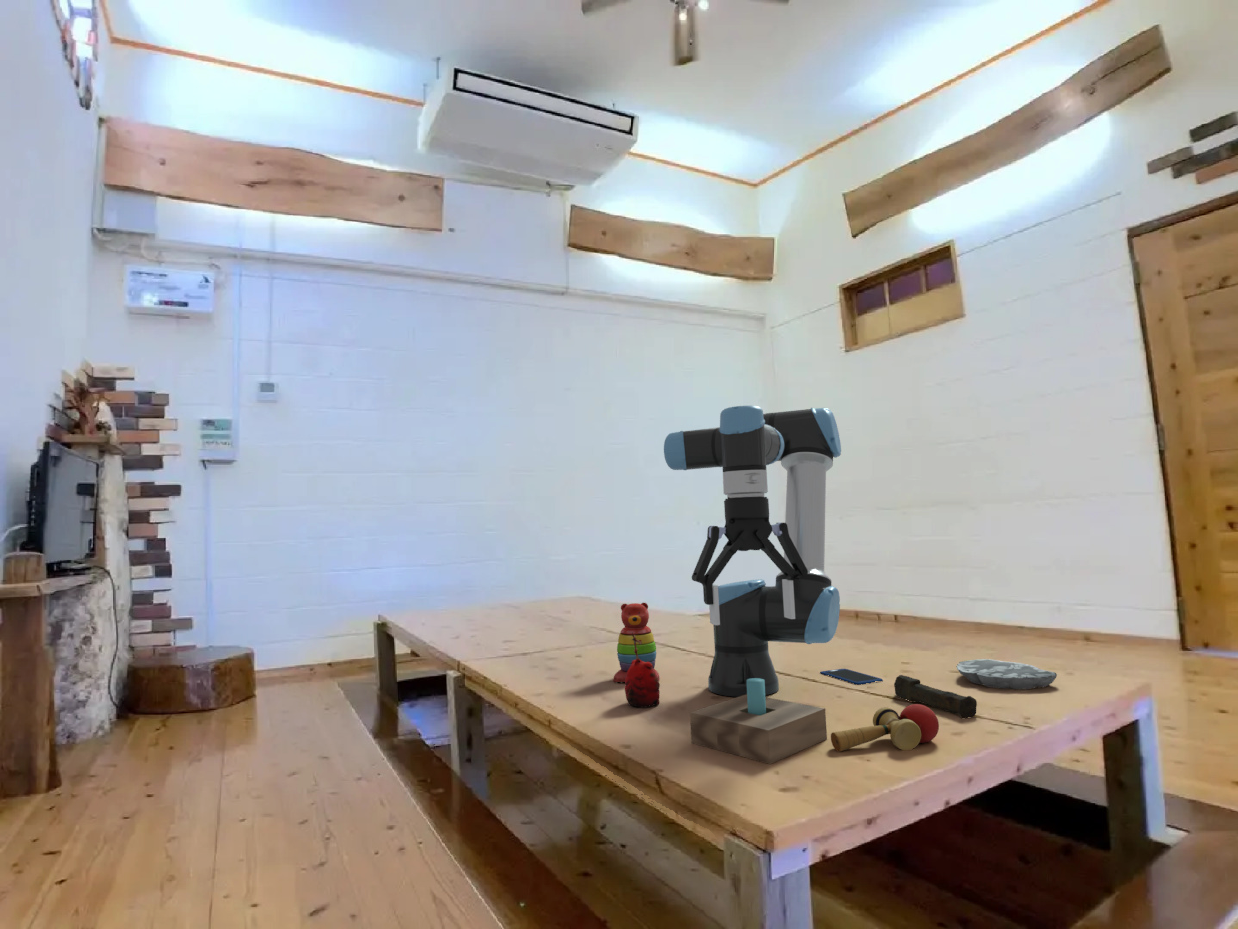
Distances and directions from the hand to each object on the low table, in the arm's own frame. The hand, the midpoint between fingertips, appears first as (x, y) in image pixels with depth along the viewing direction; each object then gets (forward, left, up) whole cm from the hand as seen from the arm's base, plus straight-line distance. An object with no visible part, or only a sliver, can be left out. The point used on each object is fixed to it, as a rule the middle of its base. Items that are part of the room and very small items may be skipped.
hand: (752, 621), depth 121 cm
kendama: (+17, +11, -20) cm, 29 cm away
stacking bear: (-50, +20, -20) cm, 57 cm away
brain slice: (+15, +66, -20) cm, 70 cm away
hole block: (0, 0, -20) cm, 20 cm away
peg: (0, 0, -20) cm, 20 cm away
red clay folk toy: (-32, +4, -20) cm, 38 cm away
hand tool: (+12, +38, -20) cm, 44 cm away
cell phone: (-12, +51, -20) cm, 56 cm away
